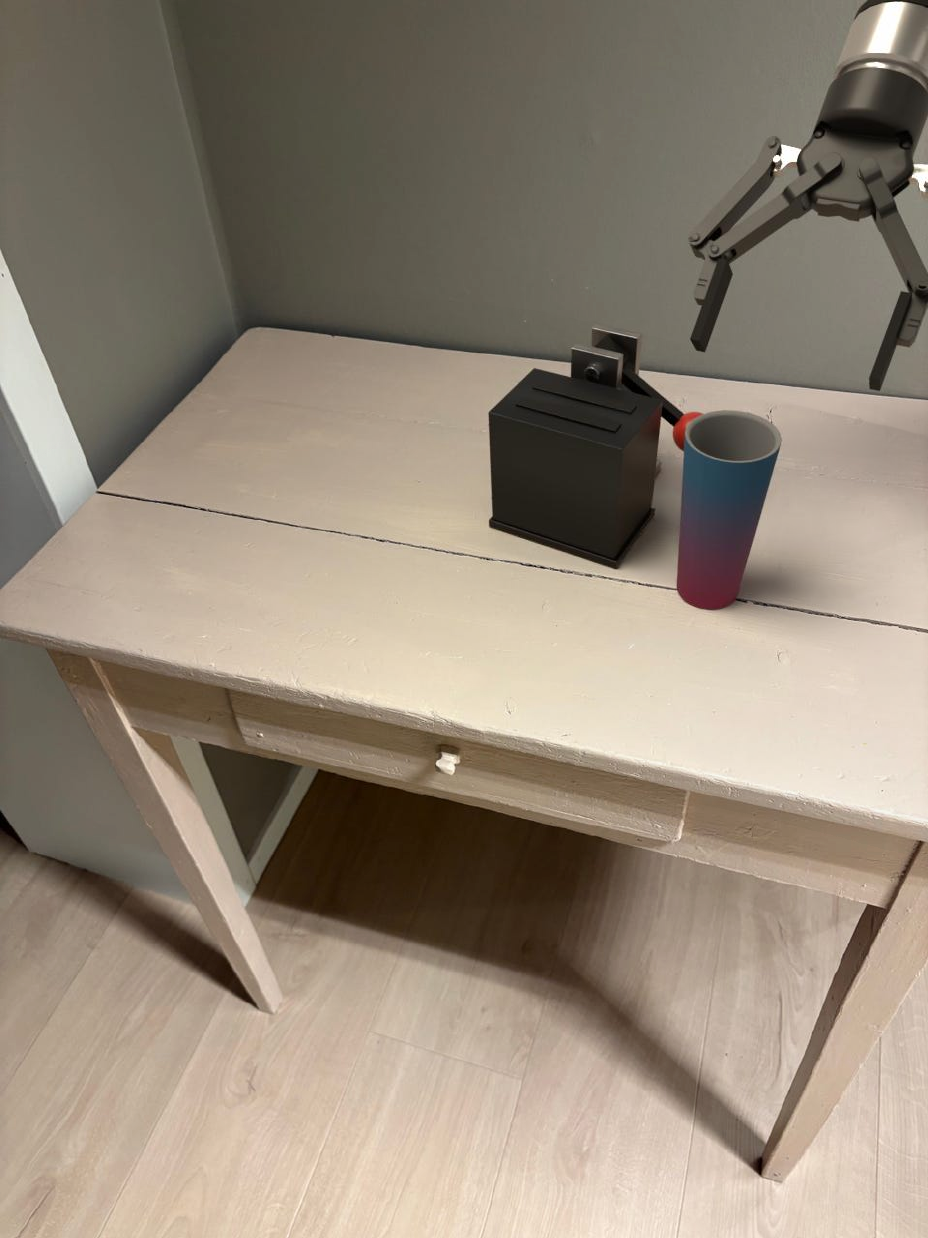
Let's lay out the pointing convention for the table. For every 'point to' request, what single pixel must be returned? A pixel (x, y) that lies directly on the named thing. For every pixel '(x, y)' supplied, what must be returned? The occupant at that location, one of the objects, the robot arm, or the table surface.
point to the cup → (722, 502)
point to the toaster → (574, 465)
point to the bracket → (607, 359)
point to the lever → (651, 394)
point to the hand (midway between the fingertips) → (782, 365)
